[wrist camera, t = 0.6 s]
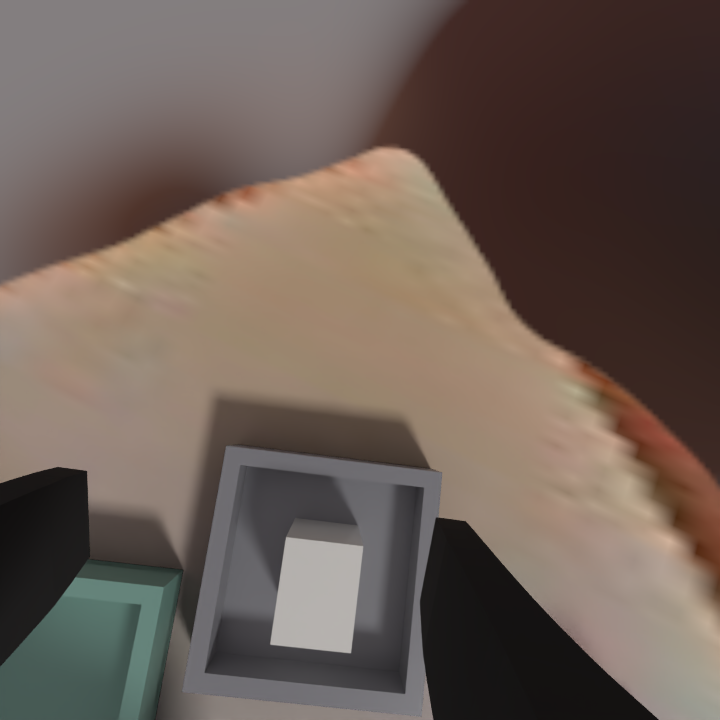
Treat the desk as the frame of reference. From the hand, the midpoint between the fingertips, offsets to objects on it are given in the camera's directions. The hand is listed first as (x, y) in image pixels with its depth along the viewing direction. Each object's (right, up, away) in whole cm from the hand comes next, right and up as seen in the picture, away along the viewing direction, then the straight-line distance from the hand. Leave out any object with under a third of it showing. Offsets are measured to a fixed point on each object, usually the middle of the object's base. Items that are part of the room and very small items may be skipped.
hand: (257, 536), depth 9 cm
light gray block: (0, -9, +17) cm, 20 cm away
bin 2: (0, -9, +18) cm, 20 cm away
